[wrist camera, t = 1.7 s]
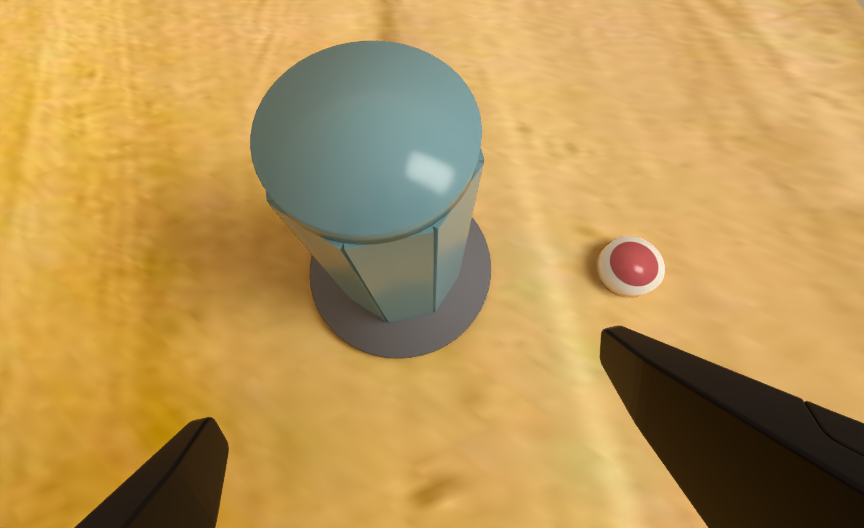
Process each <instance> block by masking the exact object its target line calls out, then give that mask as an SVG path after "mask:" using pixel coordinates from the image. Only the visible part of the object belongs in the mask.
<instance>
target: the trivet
mask: <svg viewBox="0 0 864 528" xmlns="http://www.w3.org/2000/svg"><path fill="white" fill-rule="evenodd" d="M490 279H491V261H490V253H489V250H488V246H487V243H486V240H485V238H484V235H483V233H482V231H481V230H480V228H479V226H478V224H477V223H476V222H475V220H474V219H473V218H472V219H471V223H470V228H469V232H468V237H467V241H466V246H465V250H464V255H463V259H462V264H461V268H460V273H459V277H458V278H457V280H456V281H455V283H454V284H453V286H452V288H451V289H450V291H449V292H448V294H447V295H446V297H445V298H444V300H443V301H442V303H441V304H440V306H439V308H438V309H437V311H436V312H434V311H433V314H430V315H425V316H420V317H416V318H411V319H406V320H402V321H397V322H392V323H389V322H388V321H387V323H386V322H385V321H383V320H382V319H380V318H379V317H377V316H376V315H374V314H373V313H371V312H370V311H368V310H367V309H365V308H363V307H362V306H360V305H359V304H357V303H356V302H354V301H353V300H351V299H350V298H349V297H348V296H347V294H346V293H345V292H344V291H343V290H342V289H341V287H340V286H339V285H338V284H337V283H336V282H335V280H334V279H333V278H332V277H331V276H330V275H329V273H328V272H327V271H326V270H325V269H324V268H323V266H322V265H321V264H320V263H319V262H318V261H317V259H316V258H315V257H314V256H313V255H312V258H311V264H310V283H311V290H312V294H313V298H314V301H315V303H316V306H317V308H318V310H319V312H320V314H321V316H322V317H323V319H324V320H325V322H326V323H327V324H328V326H329V327H330V328H331V329H332V330H333V331H334V332H335V333H336V334H337V335H338V336H339V337H340V338H342V339H343V340H344V341H346V342H347V343H349V344H350V345H352V346H354V347H356V348H357V349H359V350H361V351H364V352H367V353H369V354H372V355H376V356H381V357H386V358H411V357H416V356H421V355H425V354H428V353H431V352H434V351H436V350H438V349H440V348H442V347H444V346H446V345H448V344H449V343H451V342H452V341H454V340H455V339H457V338H458V337H459V336H460V335H461V334H462V333H463V332H464V331H465V330H466V329H467V328H468V327H469V326H470V325H471V323H472V322H473V321H474V320H475V318H476V316H477V315H478V313H479V312H480V310H481V308H482V306H483V304H484V301H485V299H486V296H487V293H488V290H489V285H490Z"/></svg>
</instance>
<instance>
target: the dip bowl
mask: <svg viewBox="0 0 864 528" xmlns="http://www.w3.org/2000/svg"><path fill="white" fill-rule="evenodd" d="M597 272H598V275H599V277H600V279H601V281H602V283H603V284H604V285H605V286H606V287H607V288H608V289H609V290H611V291H612V292H614V293H615V294H618V295H620V296H623V297H638V296H641V295H643V294H645V293H647V292H649V291H651V290H653V289H655V288H656V287H657V286H658V285H659V284H660V283H661V282H662V280H663V277H664V273H665V266H664V261H663V259H662V256H661V255H660V253H659V252H658V250H657V249H656V248H655V247H654V246H653V245H652V244H651V243H649V242H648V241H646V240H644V239H642V238H639V237H634V236H623V237H619V238H617V239H615V240H613V241H612V242H611V243H609V244H608V245H607V246H606V247H605V248H604V249H603V250H602V251H601V252H600V254H599V256H598V258H597Z"/></svg>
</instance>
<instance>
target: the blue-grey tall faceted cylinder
mask: <svg viewBox="0 0 864 528" xmlns="http://www.w3.org/2000/svg"><path fill="white" fill-rule="evenodd" d="M481 138H482V126H481V117H480V113H479V109H478V106H477V103H476V101H475V98H474V96H473V94H472V93H471V91H470V89H469V87H468V86H467V84H466V83H465V82H464V81H463V79H462V78H461V77H460V76H459V75H458V74H457V73H456V72H455V71H454V70H453V69H452V68H451V67H450V66H448V65H447V64H446V63H444V62H443V61H441V60H440V59H438V58H436V57H435V56H433V55H431V54H429V53H427V52H425V51H422V50H420V49H418V48H415V47H411V46H408V45H405V44H400V43H394V42H386V41H359V42H350V43H345V44H341V45H336V46H333V47H330V48H327V49H324V50H321V51H319V52H317V53H314V54H312V55H310V56H308V57H307V58H305V59H303V60H301V61H299V62H298V63H297V64H295V65H294V66H292V67H291V68H290V69H288V70H287V71H286V72H285V73H284V74H283V75H282V76H280V77H279V78H278V79H277V80H276V82H275V83H274V84H273V85H272V86H271V87H270V88H269V90H268V91H267V93H266V94H265V96H264V97H263V99H262V101H261V103H260V105H259V107H258V109H257V111H256V114H255V117H254V120H253V123H252V129H251V135H250V149H251V156H252V162H253V165H254V168H255V171H256V174H257V176H258V178H259V180H260V182H261V183H262V185H263V187H264V188H265V189H266V197H267V201H268V203H269V205H270V206H271V207H272V208H273V210H274V211H275V212H276V213H277V214H278V215H279V217H280V218H281V219H282V220H283V221H284V222H285V223H286V225H287V226H288V227H289V228H290V229H291V230H292V232H293V233H294V234H295V235H296V236H297V237H298V239H299V240H300V241H301V242H302V243H303V244H304V246H305V247H306V248H307V249H308V250H309V251H310V253H311V254H312V255H313V256H314V257H315V258H316V259H317V261H318V262H319V263H320V264H321V265H322V266H323V268H324V269H325V270H326V271H327V272H328V273H329V275H330V276H331V277H332V278H333V279H334V280H335V282H336V283H337V284H338V285H339V286H340V287H341V289H342V290H343V291H344V292H345V293H346V294H347V296H348V297H349V298H350V299H351V300H353V301H354V302H356V303H357V304H359V305H360V306H362V307H363V308H365V309H367V310H368V311H370V312H371V313H373V314H374V315H376V316H377V317H379V318H380V319H382V320H383V321H385V322H386V323H387V321H388V322H389V323H392V322H397V321H402V320H406V319H411V318H416V317H420V316H425V315H430V314H433V311H434V312H436V311H437V309H438V308H439V306H440V304H441V303H442V301H443V300H444V298H445V297H446V295H447V294H448V292H449V291H450V289H451V288H452V286H453V284H454V283H455V281H456V280H457V278H458V277H459V273H460V268H461V264H462V259H463V255H464V250H465V246H466V241H467V237H468V232H469V228H470V223H471V219H472V214H473V210H474V205H475V201H476V196H477V192H478V187H479V183H480V178H481V174H482V169H483V165H484V164H483V163H484V157H483V154H482V151H481Z"/></svg>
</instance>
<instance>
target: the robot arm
mask: <svg viewBox="0 0 864 528" xmlns="http://www.w3.org/2000/svg"><path fill="white" fill-rule="evenodd" d="M600 361H601V364H602V366H603V368H604V370H605V371H606V373H607V375H608V377H609V379H610V380H611V382H612V384H613V386H614V387H615V389H616V391H617V393H618V394H619V396H620V398H621V400H622V402H623V403H624V405H625V407H626V409H627V410H628V412H629V414H630V416H631V417H632V419H633V421H634V422H635V424H636V425H637V427H638V428H639V430H640V431H641V433H642V434H643V436H644V437H645V439H646V440H647V441H648V443H649V444H650V446H651V447H652V448H653V450H654V451H655V453H656V454H657V456H658V457H659V458H660V460H661V461H662V463H663V464H664V465H665V467H666V468H667V470H668V471H669V473H670V474H671V475H672V477H673V478H674V480H675V481H676V482H677V484H678V485H679V487H680V488H681V490H682V491H683V492H684V494H685V495H686V497H687V498H688V499H689V501H690V502H691V504H692V505H693V507H694V508H695V509H696V511H697V512H698V514H699V515H700V516H701V518H702V519H703V521H704V522H705V523H706V525H707V526H708V528H864V423H862V422H859V421H857V420H854V419H851V418H849V417H846V416H844V415H841V414H839V413H836V412H834V411H831V410H829V409H826V408H824V407H821V406H819V405H816V404H814V403H811V402H809V401H805V402H804V401H803V400H802V399H801V398H799V397H796V396H794V395H791V394H789V393H786V392H784V391H781V390H779V389H776V388H774V387H771V386H769V385H767V384H764V383H762V382H759V381H757V380H754V379H752V378H749V377H747V376H744V375H742V374H739V373H737V372H734V371H732V370H729V369H727V368H725V367H722V366H720V365H717V364H715V363H712V362H710V361H707V360H705V359H702V358H700V357H697V356H695V355H692V354H690V353H687V352H685V351H682V350H680V349H678V348H675V347H673V346H670V345H668V344H665V343H663V342H660V341H658V340H655V339H653V338H650V337H648V336H645V335H643V334H640V333H638V332H636V331H633V330H631V329H628V328H626V327H623V326H613V327H609V328H605V329H603V330H602V332H601V343H600ZM228 452H229V447H228V442H227V440H226V438H225V436H224V435H223V433H222V431H221V429H220V428H219V426H218V424H217V422H216V421H215V419H213V418H212V417H206V418H202V419H197V420H193V421H191V422H189V423H188V424H187V425H186V426H185V427H184V428H183V429H182V430H181V431H179V432H178V433H177V434H176V435H175V436H174V437H173V438H172V439H171V440H170V441H169V442H167V443H166V444H165V445H164V446H163V447H162V448H161V449H160V450H159V451H158V452H157V453H155V454H154V455H153V456H152V457H151V458H150V459H149V460H148V461H147V462H146V463H145V464H143V465H142V466H141V467H140V468H139V469H138V470H137V471H136V472H135V473H134V474H133V475H131V476H130V477H129V478H128V479H127V480H126V481H125V482H124V483H123V484H122V485H121V486H119V487H118V488H117V489H116V490H115V491H114V492H113V493H112V494H111V495H110V496H109V497H107V498H106V499H105V500H104V501H103V502H102V503H101V504H100V505H99V506H98V507H96V508H95V509H94V510H93V511H92V512H91V513H90V514H89V515H88V516H87V517H86V518H84V519H83V520H82V521H81V522H80V523H79V524H78V525H77V526H76V527H75V528H215V526H216V522H217V517H218V512H219V506H220V500H221V494H222V488H223V482H224V476H225V470H226V464H227V459H228Z"/></svg>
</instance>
